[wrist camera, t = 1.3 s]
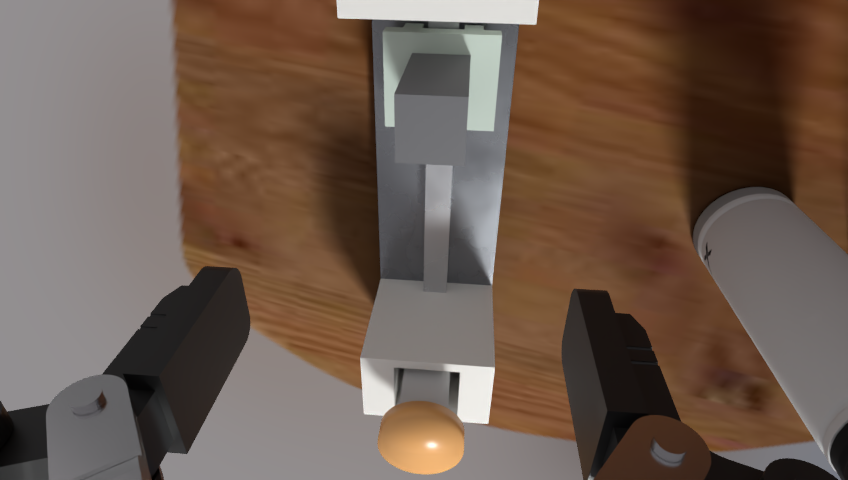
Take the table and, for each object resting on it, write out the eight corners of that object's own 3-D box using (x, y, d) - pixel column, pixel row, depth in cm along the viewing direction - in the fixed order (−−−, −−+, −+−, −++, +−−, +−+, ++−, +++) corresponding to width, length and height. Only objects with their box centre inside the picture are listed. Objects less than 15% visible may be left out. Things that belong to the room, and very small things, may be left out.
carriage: (389, 22, 29) (356, 67, 21) (500, 26, 29) (509, 73, 21) (390, 112, 32) (361, 181, 24) (492, 116, 31) (497, 188, 23)
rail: (371, -98, 27) (363, -98, 25) (529, -95, 27) (533, -95, 25) (384, 320, 42) (380, 341, 40) (486, 327, 42) (486, 348, 40)
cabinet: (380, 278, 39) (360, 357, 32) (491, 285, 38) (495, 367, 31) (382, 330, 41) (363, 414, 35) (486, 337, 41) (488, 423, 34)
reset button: (393, 327, 34) (376, 415, 29) (468, 332, 34) (466, 422, 28) (394, 380, 37) (378, 470, 31) (464, 385, 37) (461, 477, 31)
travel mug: (668, 248, 37) (830, 540, 20) (737, 169, 33) (1003, 441, 16) (742, 282, 38) (956, 590, 21) (816, 209, 34) (1144, 506, 17)
